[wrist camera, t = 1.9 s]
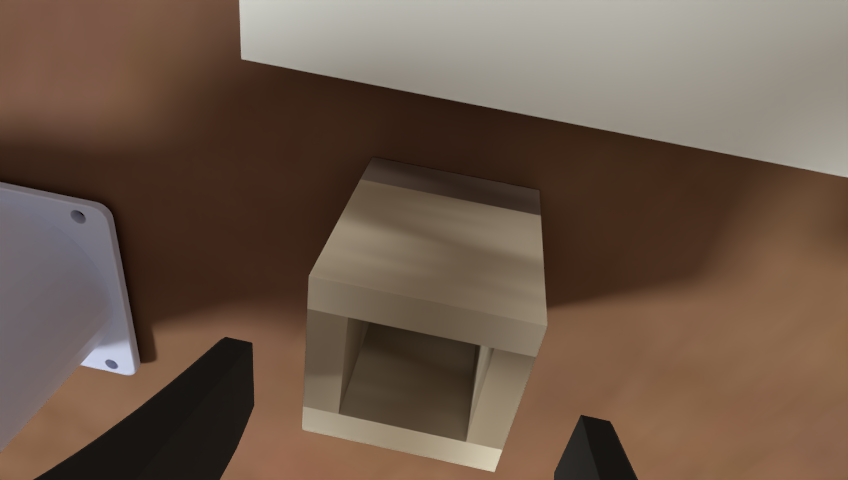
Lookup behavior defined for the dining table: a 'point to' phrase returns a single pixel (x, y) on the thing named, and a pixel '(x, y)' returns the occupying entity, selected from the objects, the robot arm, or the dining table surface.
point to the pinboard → (595, 64)
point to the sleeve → (426, 314)
